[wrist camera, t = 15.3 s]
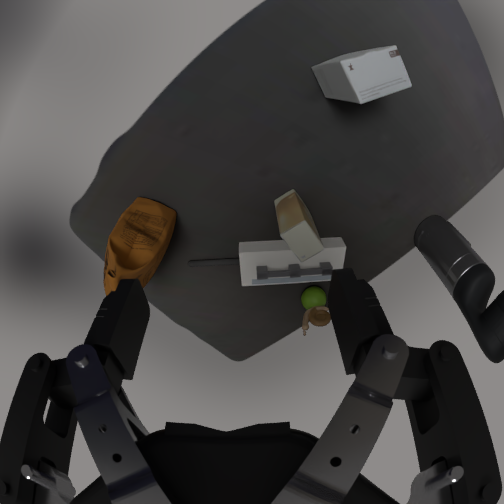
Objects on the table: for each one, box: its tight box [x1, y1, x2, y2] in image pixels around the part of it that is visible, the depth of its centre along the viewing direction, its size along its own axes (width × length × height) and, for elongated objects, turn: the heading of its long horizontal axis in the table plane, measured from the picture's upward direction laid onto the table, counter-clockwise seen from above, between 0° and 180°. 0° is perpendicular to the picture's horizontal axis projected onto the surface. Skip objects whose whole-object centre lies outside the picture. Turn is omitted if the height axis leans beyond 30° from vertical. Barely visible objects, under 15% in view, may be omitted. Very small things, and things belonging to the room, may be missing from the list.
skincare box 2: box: [311, 45, 412, 104], centre depth 32 cm, size 8×6×15 cm
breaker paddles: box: [256, 262, 333, 280], centre depth 54 cm, size 14×2×2 cm, turn 93°
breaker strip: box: [188, 237, 346, 286], centre depth 56 cm, size 31×8×4 cm, turn 93°
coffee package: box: [104, 197, 176, 296], centre depth 44 cm, size 10×12×22 cm
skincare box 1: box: [274, 189, 324, 263], centre depth 47 cm, size 6×4×12 cm
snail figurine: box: [301, 286, 331, 336], centre depth 58 cm, size 5×6×12 cm
